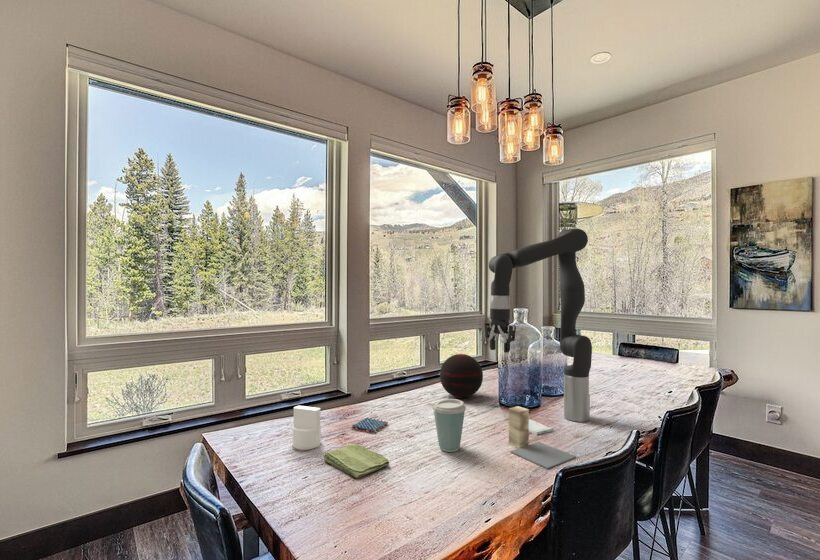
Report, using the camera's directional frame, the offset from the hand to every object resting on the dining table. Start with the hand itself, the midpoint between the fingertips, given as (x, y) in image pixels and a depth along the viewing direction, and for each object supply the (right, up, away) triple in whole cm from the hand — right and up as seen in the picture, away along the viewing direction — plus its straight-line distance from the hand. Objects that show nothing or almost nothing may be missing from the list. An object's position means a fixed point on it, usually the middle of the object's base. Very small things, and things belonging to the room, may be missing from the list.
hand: (499, 350), depth 158 cm
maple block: (+2, -28, -20) cm, 35 cm away
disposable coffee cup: (-22, -28, -23) cm, 42 cm away
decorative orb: (-10, -28, +36) cm, 46 cm away
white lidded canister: (-69, -28, -21) cm, 77 cm away
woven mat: (-49, -28, -5) cm, 57 cm away
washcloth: (-50, -28, -35) cm, 67 cm away
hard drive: (+11, -29, -4) cm, 31 cm away
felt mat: (+7, -28, -28) cm, 40 cm away
